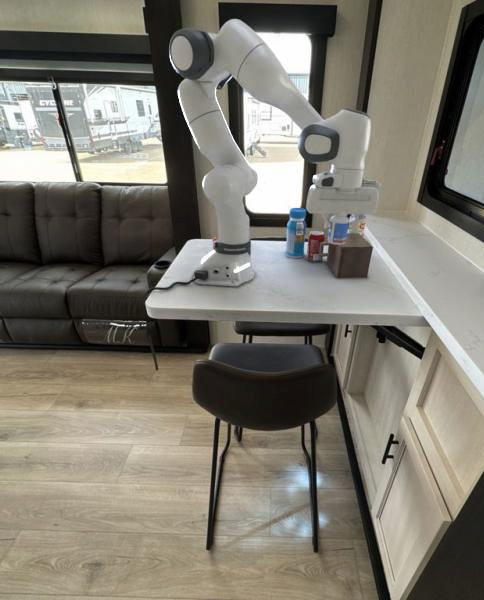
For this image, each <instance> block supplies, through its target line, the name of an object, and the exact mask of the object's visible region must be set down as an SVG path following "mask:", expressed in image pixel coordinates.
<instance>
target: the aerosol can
mask: <svg viewBox="0 0 484 600" xmlns="http://www.w3.org/2000/svg"><path fill="white" fill-rule="evenodd" d="M352 218H353V216H352V214H350V216H349V222H350V221H351V219H352ZM366 220H367V216H366V215H365V214H359V218H358V220H357V221H356V222H355V223H354V225H353V229H348V230H347V233H359V234H360V235H361V236H362V237H363V238H364V232H365V228H366V227H365V226H366Z"/></svg>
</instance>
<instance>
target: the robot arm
mask: <svg viewBox="0 0 484 600" xmlns="http://www.w3.org/2000/svg"><path fill="white" fill-rule="evenodd" d="M168 53H169V54H168V55H169V59H170V63H171V65H172V67H173V69H174V70H175V72H176V73H177V74H178V75H180V76H181V77H183V78H184V79H183V80H182V81H181V82H180V83H179V85H178V87H177V96H178V99H179V104H180V107H181V111H182V113H183V116H184V119H185V121H186V124H187V126H188V128H189V130H190V132H191V135H192V137H193V140H194V141H195V144H196V146H197V149H198V151H199V152H200V154H201V155H202V156H204V157H205V158H206V159H207V160H208V161H209V162H210V163H211V164H212V166H213V167H214V168H213V169H211V170H210V171H209V172H208V173H206V174H205V176H204V177H203V179H202V191H203V194H204V196H205V197H206V199H207V200H208V201H209V202H211V204H212V207H213V209H214V213H215V217H216V223H217V235H218V237H217V236H214V237H213V238H212V250H210V251H209V252H208V253H206V254H205V255H203V257H202V258H201V260H200V262H199V267H197V268H196V269H195V271H193V278H192V279H190V280H189V281H174V282H172V283H171V284H170V285H169V286H165V287H163V286H162V287H160V286H154V287H150V288H148V290H146V292H145V293H146V294H150V293H151V292H153V291H168V290H170V289H172V288H174V286H176V285H183V286H187V285H190V284H192V283H193V282H195V283H196V284H198V285H206V286H207V285H209V286H221V287H235V288H236V287H239V286H240V285H242V284H244V283H247V282H249V281H252V279H253V278H254V277H255V272H254V269H253V265H252V257H251V256H252V240H251V237H250V231H251V230H250V224H251V223H250V216H249V215H248V214H247V212H246V209H245V204H244V197H246V196H248V195H250V194H251V193H252V192H253V191H254V190H255V188H256V186H257V184H258V180H259V179H258V173H257V170H256V169H255V168H254V167H253V165H252V164H250V163H249V161H247V159H246V157H245V156H244V154H243V152H242V151H241V149H240V148H239V146H238V144H237V143H236V141H235V139H234V137H233V135H232V133H231V130H230V128H229V126H228V124H227V123H228V122H227V121H226V119H225V116H224V114H223V111H222V109H221V106H220V104H219V102H218V98H217V93H216V92H217V90H223V88H224V87H225V86H226V84H227V83H228V82H229V81H230V80H231V79H232V78H234V79H235V80H236V82H237V83H238V84H239V86H241V88H242V90H244V91H245V92H246V93H247V94H248V95H249V96H250V97H252V98H253V99H254V100H256V101H257V102H259V103H261V104H263V105H267V106H270V107H272V108H275V109H277V110H279V111H281V112H283V113H284V114H285V115H287V117H289V119H290V120H291V121H292V122H293V123H294V124H295V125H296V126H297V127H298V128H299V129H300V131H301V132H300V134H299V137H298V140H297V149H298V152H299V155H300V156H301V158H302V159H303V160H304V161H306V162H307V163H310V164H321V163H326V162H330V164H331V165H330V170H327V171H323V172H320V173H317V174H314V175H313V177H312V183H313V184H312V185H311V186H310V187H309V189H308V192H307V197H306V203H305V210H306V212H308V213H309V214H316V215H318V214H321V217H322V219H323V222H324V223H323V224H324V225H323V226H324V227H323V228H324V229H325V230H329V229H330V228H331V227H330V226H331V223H330V221H328V218H329V215H334V214H339V213H340V212H341V211H345V213H346V214H347V215H352V216H353V218H352V219H351V221H350V222H349V224H348V229H353V225H354V223H355V222H356V221H357V220H358V218H359V214H364V215H365V216H366V215H370V216H371V215H375V214H376V213H377V211H378V206H379V195H380V193H381V189H382V185H381V183H380V182H379V181H378V180H377V179H364V174H365V168H366V164H365V161H366V156H367V153H368V151H369V147H370V140H371V134H372V133H371V132H372V120H371V117H370V115H369V114H368V113H366V112H365V111H361V110H357V109H353V108H349V107H344V108H342V109H341V110H340V111H338V112H337V113H336V114H334V115H332V116H330V117H328V118H324V117H323V116H322V115H321V114H320V113H319V112H318V111H317V109H315V107H314V106H313V105H312V104H311V103H310V102H309V100H307V98H306V97H305V96H304V94H302V92H301V91H300V90H299V89H298V87H297V86H296V84H295V83H294V81H293V80H292V78H291V77H290V76H289V74H288V72H287V71H286V69H285V68H284V66H283V65H282V63H281V62H280V60H279V59H278V57H277V55H276V54H275V53H274V52H273V50H272V49H271V48H270V46H269V45H268V44H267V43H266V42H265V40H263V38H262V37H260V35H258V33H257V32H256V31H255V30H253V28H252V27H250V26H249V25H248V24H247V23H245V22H244V21H243V20H241V19H238V18H232V19H229V20H227V21H226V22H225V23H223V25H222V26H221V27H220V29H219V31H218V33H214V32H211V31H208V30H202V29H197V28H194V27H185V28H180V29H178V30H176V31H174V33H173V34H172V36H171V38H170V40H169V46H168ZM147 338H148V342H149V346H150V351H151V354H152V358H153V362H154V366H155V367H154V368H155V371H159V365H158V359H157V355H156V351H155V347H154V344H153V341H152V335H151V334H147Z"/></svg>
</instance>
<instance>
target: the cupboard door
mask: <svg viewBox="0 0 484 600" xmlns="http://www.w3.org/2000/svg"><path fill="white" fill-rule="evenodd" d="M323 246H324V247H325V246H327V247H328V248H327V252H323V253H322V248H323ZM342 252H343V246H342V245H336V244H331V243H329V242H328V241H324V242H320V248H319V257H323V258H325V257H326V264H327V265H328V266H329V268H330V270H331V271H332V274H334V276H335V278H336V279H340V278H339V272H340V265H341V259H342Z"/></svg>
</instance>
